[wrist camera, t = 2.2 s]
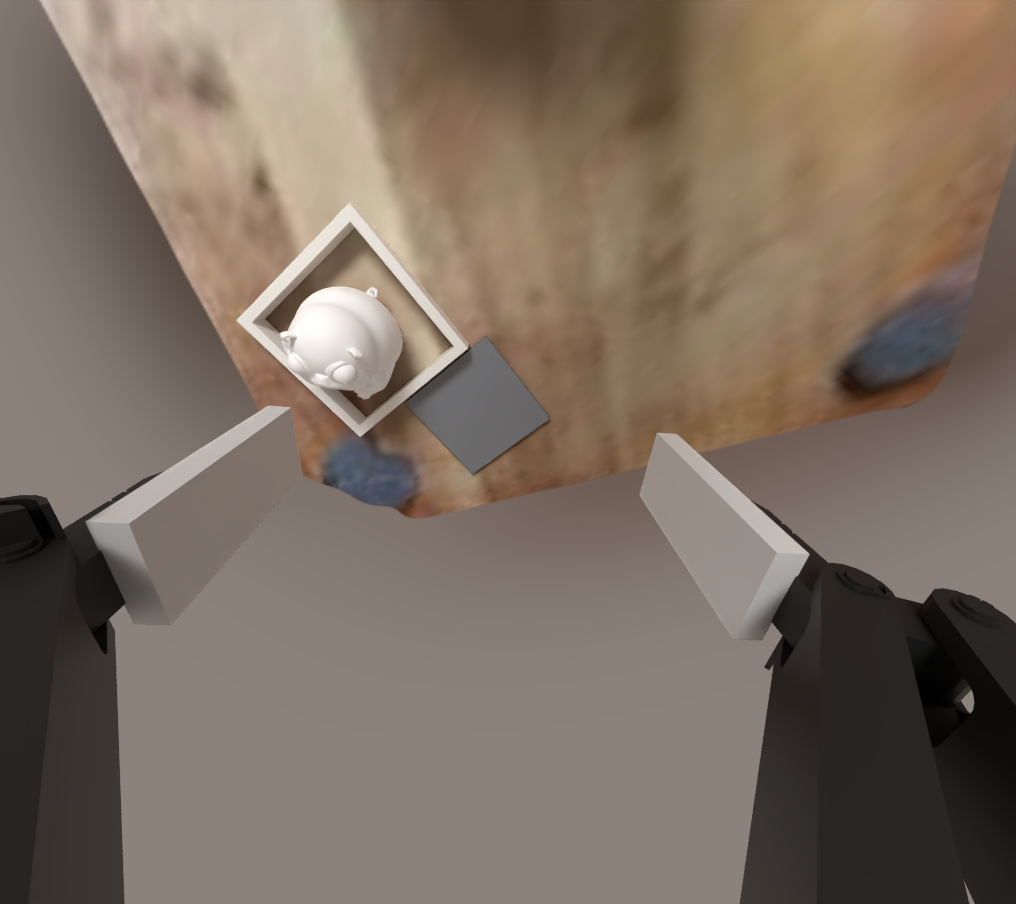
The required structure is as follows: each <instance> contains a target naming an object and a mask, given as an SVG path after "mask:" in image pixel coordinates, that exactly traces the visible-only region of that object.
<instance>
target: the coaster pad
mask: <svg viewBox="0 0 1016 904" xmlns="http://www.w3.org/2000/svg"><path fill="white" fill-rule="evenodd" d="M405 404H406V405H407V406H408V407H409V408H410V409H411V410H412V411H413V412H414V413H415V414H416V416H417V417H418V418H419V419H420V420H421V421H422V422H423V423H424V424H425V425H426V426H427V427H428V428H429V429H430V430H431V431H432V432H433V433H434V434H435V435H436V436H437V437H438V439H439V440H440V441H441V442H442V443H443V444H444V445H445V446H446V447H447V448H448V449H449V450H450V451H451V452H452V453H453V454H454V455H455V456H456V457H457V458H458V459H459V461H460V462H461V463H462V464H463V465H464V466H465V467H466V468H467V469H468V470H469V471H470V472H471V473H472V474H473V473H475V472H476V471H477V470H479V469H480V468H482V467H483V466H484V465H486V464H487V463H489V462H490V461H491V460H493V459H494V458H496V457H497V456H498V455H500V454H501V453H503V452H504V451H506V450H507V449H508V448H510V447H511V446H513V445H514V444H515V443H517V442H518V441H520V440H521V439H522V438H524V437H525V436H527V435H528V434H529V433H531V432H532V431H534V430H535V429H536V428H538V427H539V426H541V425H542V424H543V423H545V422H546V421H548V420H549V419H550V417H549V416H548V415H547V413H546V412H545V411H544V409H543V408H542V407H541V406H540V404H539V403H538V402H537V400H536V399H535V398H534V397H533V395H532V394H531V393H530V391H529V390H528V389H527V388H526V386H525V385H524V384H523V382H522V381H521V380H520V379H519V377H518V376H517V375H516V373H515V372H514V371H513V370H512V368H511V367H510V366H509V364H508V363H507V362H506V361H505V359H504V358H503V357H502V355H501V354H500V353H499V352H498V350H497V349H496V348H495V347H494V345H493V344H492V343H491V341H490V340H489V339H488V338H487V336H486V337H484V338H483V339H482V340H481V341H479V342H478V343H477V344H476V345H475V346H473V347H472V348H471V349H470V350H468V351H467V352H466V353H465V354H464V355H462V356H461V357H460V358H459V359H457V360H456V361H455V362H454V363H453V364H451V365H450V366H449V367H448V368H446V369H445V370H444V371H443V372H442V373H440V374H439V375H438V376H437V377H435V378H434V379H433V380H432V381H431V382H429V383H428V384H427V385H426V386H424V387H423V388H422V389H421V390H420V391H418V392H417V393H416V394H415V395H413V396H412V397H411V398H410V399H409V400H407V401H406V402H405Z"/></svg>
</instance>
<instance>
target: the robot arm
mask: <svg viewBox="0 0 1016 904" xmlns="http://www.w3.org/2000/svg"><path fill="white" fill-rule="evenodd" d="M301 477H303V476H302V470H301V464H300V458H299V452H298V446H297V440H296V434H295V428H294V422H293V416H292V409H291V407H279V406H267V407H265V408H264V409H262V410H261V411H259V412H257V413H256V414H254V415H253V416H251V417H250V418H248V419H246V420H245V421H243V422H242V423H240V424H239V425H237V426H235V427H234V428H232V429H231V430H229V431H227V432H226V433H224V434H223V435H221V436H220V437H218V438H216V439H215V440H213V441H212V442H210V443H209V444H207V445H205V446H204V447H202V448H201V449H199V450H198V451H196V452H194V453H193V454H191V455H190V456H188V457H187V458H185V459H184V460H182V461H180V462H179V463H177V464H175V465H174V466H172V467H171V468H169V469H168V470H166V471H163V472H161V473H158V474H155V475H153V476H150V477H147V478H145V479H143V480H142V481H140V482H138V483H137V484H135V485H133V486H132V487H130V488H129V489H127V492H122V493H121V494H119V495H117V496H116V497H114V498H112V501H111V502H110V501H108V502H106V503H105V504H103V505H101V506H100V507H98V508H97V509H95V510H93V511H92V512H90V513H88V514H87V515H85V516H83V517H82V518H80V519H79V520H77V521H75V522H74V523H72V524H70V525H69V526H67V527H66V528H64V529H62V527H61V525H60V523H59V521H58V519H57V517H56V515H55V514H54V511H53V509H52V507H51V505H50V504H49V502H48V500H47V498H45V497H41V496H37V495H19V496H13V497H6V498H0V904H124V879H123V853H122V852H123V850H122V822H121V795H120V766H119V738H118V708H117V682H116V681H117V679H116V651H115V630H114V628H113V626H112V624H111V622H110V621H109V618H110V617H111V616H113V615H114V614H115V613H116V612H117V611H118V610H119V609H120V608H121V607H122V606H123V605H125V607H126V609H127V611H128V613H129V615H130V617H131V619H132V621H133V623H134V624H147V625H171V624H172V623H173V622H174V621H175V620H176V619H177V617H179V615H180V614H181V613H182V612H183V611H184V610H185V609H186V608H187V606H188V605H189V604H190V603H191V602H192V601H193V600H194V598H195V597H196V596H197V595H198V594H199V593H200V592H201V591H202V589H203V588H204V587H205V586H206V585H207V584H208V583H209V581H210V580H211V579H212V578H213V577H214V576H215V575H216V574H217V572H218V571H219V570H220V569H221V568H222V567H223V566H224V564H225V563H226V562H227V561H228V560H229V559H230V558H231V557H232V555H233V554H234V553H235V552H236V551H237V550H238V549H239V548H240V547H241V545H242V544H243V543H244V542H245V541H246V540H247V539H248V538H249V536H250V535H251V534H252V533H253V532H254V531H255V530H256V528H257V527H258V526H259V525H260V524H261V523H262V522H263V521H264V519H265V518H266V517H267V516H268V515H269V514H270V513H271V512H272V510H273V509H274V508H275V507H276V506H277V505H278V504H279V503H280V501H281V500H282V499H283V498H284V497H285V496H286V495H287V493H288V492H289V491H290V490H291V489H292V488H293V487H294V485H295V484H296V483H297V482H298V481H299V480H300V479H301ZM639 496H640V497H641V499H642V500H643V502H644V503H645V505H646V506H647V508H648V509H649V511H650V512H651V514H652V516H653V517H654V519H655V520H656V521H657V523H658V525H659V526H660V528H661V529H662V531H663V533H664V534H665V536H666V537H667V539H668V540H669V542H670V543H671V545H672V546H673V548H674V549H675V551H676V553H677V554H678V556H679V557H680V559H681V560H682V562H683V563H684V565H685V566H686V568H687V570H688V571H689V573H690V574H691V576H692V577H693V579H694V580H695V582H696V583H697V585H698V586H699V588H700V590H701V591H702V593H703V594H704V596H705V597H706V599H707V600H708V602H709V603H710V605H711V606H712V608H713V610H714V611H715V613H716V614H717V616H718V617H719V619H720V620H721V622H722V623H723V625H724V626H725V628H726V630H727V631H728V633H729V634H730V636H731V637H732V639H733V640H762V639H763V638H764V636H765V634H766V632H767V630H768V629H769V627H770V625H771V623H773V624H774V625H775V627H776V628H777V629H778V630H779V632H780V633H781V634H782V635H783V636H782V638H781V639H780V641H779V643H778V644H777V646H776V648H775V650H774V651H773V653H772V655H771V656H770V658H769V660H768V662H767V663H766V665H765V668H766V669H768V670H770V668H771V667H772V665H774V666H773V673H772V680H771V688H770V694H769V702H768V709H767V715H766V722H765V729H764V736H763V743H762V751H761V758H760V765H759V772H758V779H757V786H756V794H755V800H754V807H753V814H752V821H751V828H750V835H749V842H748V850H747V856H746V863H745V871H744V878H743V885H742V892H741V899H740V904H969V901H968V896H967V892H966V888H965V884H964V881H965V883H966V886H967V888H968V890H969V892H970V894H971V896H972V899H973V901H974V903H975V904H1016V623H1015V622H1014V621H1013V620H1011V619H1010V618H1009V617H1008V616H1007V615H1005V614H1004V613H1002V612H1000V611H999V610H997V609H996V608H994V606H993V605H991V604H989V603H987V602H985V601H983V600H982V601H980V599H979V598H977V597H974V596H972V595H966V594H964V593H961V592H958V591H954V590H949V589H944V588H942V589H934V590H933V592H932V593H931V595H930V596H929V597H928V598H927V600H926V601H925V602H924V603H923V604H921V603H917V602H913V601H910V600H906V599H901V598H897V597H895V595H894V594H893V592H892V591H891V590H890V589H889V588H888V587H887V586H885V585H884V584H883V583H882V582H880V581H879V580H877V579H875V578H874V577H873V576H871V575H869V574H867V573H865V572H863V571H861V570H859V569H856V568H853V567H850V566H847V565H844V564H837V563H828V562H827V561H826V560H824V559H823V558H822V557H821V556H820V555H818V553H816V552H815V551H814V550H813V549H812V548H811V547H810V546H808V545H807V544H806V543H805V542H804V541H803V540H802V539H800V538H799V537H798V536H797V535H796V534H793V533H792V531H791V530H790V529H789V528H788V527H787V526H786V525H785V524H782V523H781V521H780V520H779V519H778V518H777V517H776V516H774V515H773V514H772V513H771V512H770V511H769V510H767V509H765V508H763V507H762V506H760V505H758V504H756V503H755V502H753V501H750V500H749V499H748V498H747V497H746V496H745V495H744V494H743V493H741V492H740V491H739V490H738V489H737V488H736V487H735V486H734V485H732V484H731V483H730V482H729V481H728V480H727V479H726V478H725V477H724V476H723V475H721V474H720V473H719V472H718V471H717V470H716V469H715V468H714V467H712V466H711V465H710V464H709V463H708V462H707V461H706V460H705V459H704V458H703V457H702V456H700V455H699V454H698V453H697V452H696V451H695V450H694V449H693V448H692V447H691V446H689V445H688V444H687V443H686V442H685V441H684V440H683V439H682V438H681V437H679V436H678V435H677V434H670V433H657V434H656V438H655V441H654V445H653V448H652V452H651V455H650V459H649V462H648V466H647V470H646V473H645V477H644V480H643V484H642V487H641V491H640V494H639ZM971 690H972V692H973V695H974V708H973V711H972V713H969V712H968V711H967V709H966V708H965V707H964V705H963V703H962V702H961V700H962V699H963V698H964V697H965V696H966V695H967V694H968V693H969V692H970V691H971ZM963 879H964V880H963Z"/></svg>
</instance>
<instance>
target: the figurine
mask: <svg viewBox="0 0 1016 904" xmlns="http://www.w3.org/2000/svg"><path fill="white" fill-rule="evenodd" d="M377 295H378V290H377V289H376V288H373V287H372V288H370V289H369V290H368V291H367V292H366V293H365V292H362V291H360V290H357V289H354V288H349V287H329V288H325V289H322V290H319V291H317V292H315V293H314V294H312V295H310V296H309V297H308V298H307V299H306V300H305V301H304V302H303V303H302V304H301V305H300V307H299V309H298V310H297V312H296V315H295V318H294V319H293V321H292V323H291V325H290V327H289V329H288V331H285V332H282V333H280V338H281V339H282V345H283V348H284V350H285V352H286V354H287V356H288V359H287V363H288V366H289V368H290V370H291V371H293V372H294V373H296V374H298V375H299V376H300V377H302V378H303V379H304V380H305V381H307V382H308V383H310V384H313V385H317V386H319V387H322V388H327V389H341V390H355V391H354V392H355V393H357V394H358V397H361V398H362V399H368V398H370V396H371V395H373V394H375V393H377V392H379V391H381V390H383V389H384V388H385V387H386V385H387V384H388V382H389V380H390V378H391V375H392V373H393V370H394V367H395V363H396V361H397V360H398V358H399V356H400V354H401V351H402V345H403V341H402V335H401V331H400V329H399V326H398V324H397V322H396V320H395V319H394V317H393V316H392V314H391V313H390V312H389V311H388V310H387V308H386V307H385V306H384V305H382V304H381V303H380V302H379V301H378V300H376V299H375V298H377ZM367 385H369V386H367Z"/></svg>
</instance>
